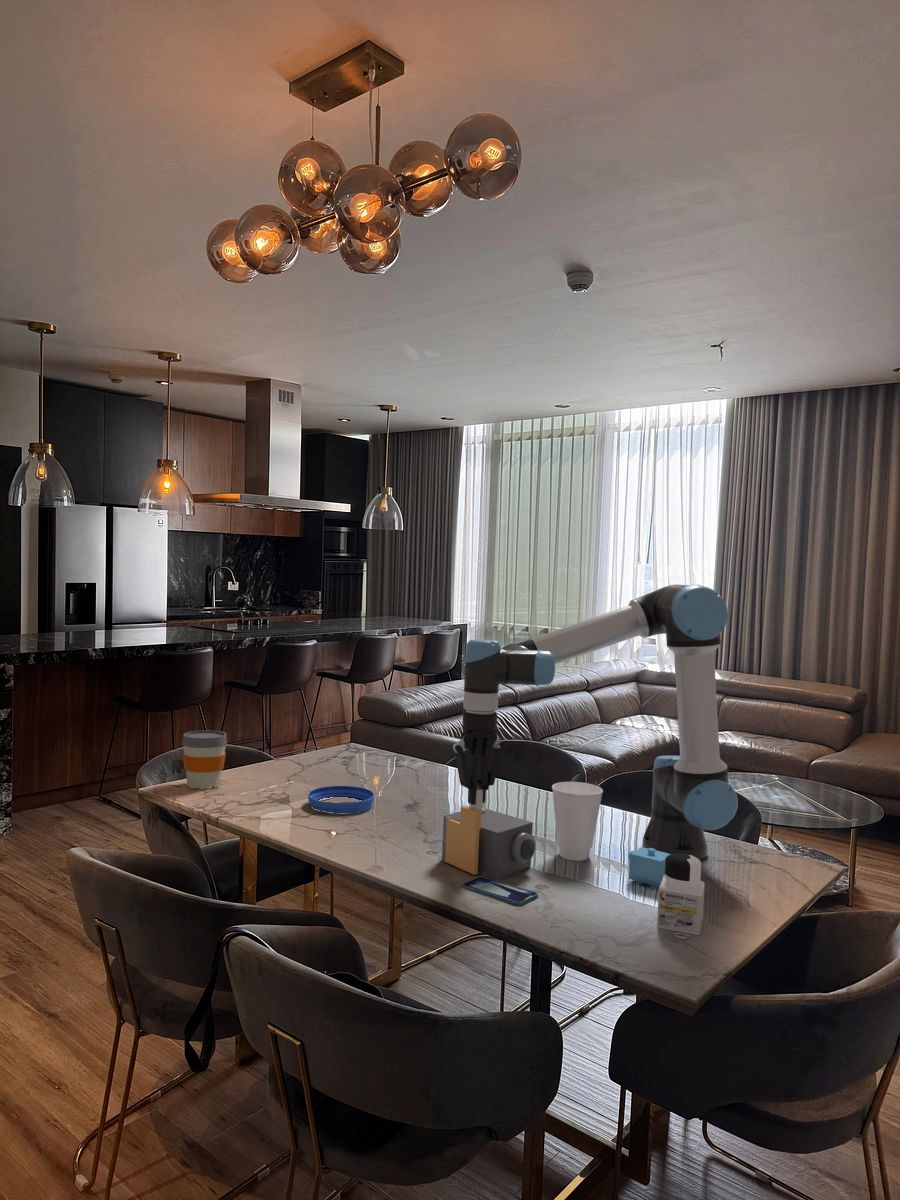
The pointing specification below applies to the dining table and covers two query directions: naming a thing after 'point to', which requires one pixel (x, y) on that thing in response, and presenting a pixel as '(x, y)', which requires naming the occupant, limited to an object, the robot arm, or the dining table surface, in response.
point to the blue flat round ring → (341, 791)
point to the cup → (576, 817)
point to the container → (681, 895)
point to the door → (463, 840)
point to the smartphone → (500, 890)
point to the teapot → (647, 866)
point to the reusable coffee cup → (204, 757)
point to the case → (501, 843)
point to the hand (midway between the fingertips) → (475, 818)
